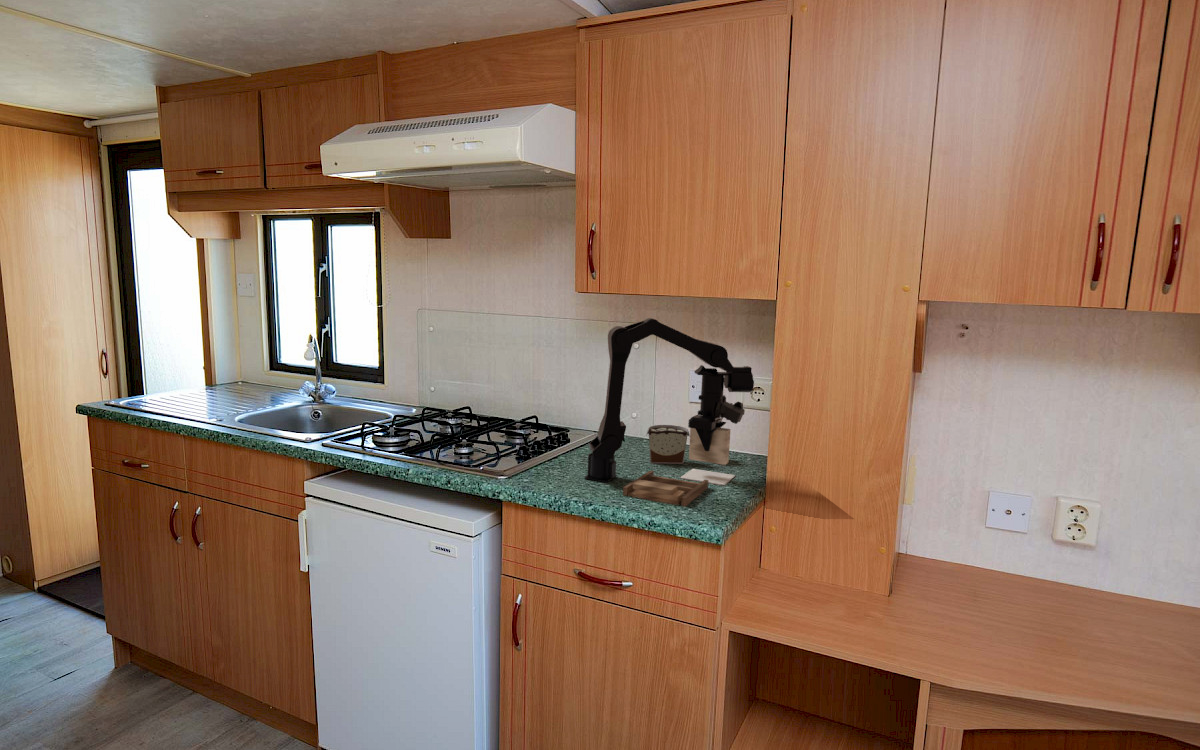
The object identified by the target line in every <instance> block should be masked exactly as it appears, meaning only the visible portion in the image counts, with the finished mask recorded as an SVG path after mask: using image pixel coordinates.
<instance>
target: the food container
mask: <svg viewBox="0 0 1200 750" xmlns="http://www.w3.org/2000/svg"><path fill="white" fill-rule="evenodd" d="M646 436H648V443H649V444H648V445H649V458H650V459H649V460H650V464H674V465H675V464H679V465H680V464H681V465H683V464H684V462H685V461H684V460H685V454H686V447H687V441H688V437H689V438H690V431H689V428H686V427H683V426H681V425H672V424H656V425H655V424H654V425H651V426H649V427H648V429H647V432H646Z"/></svg>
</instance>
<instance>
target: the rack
mask: <svg viewBox="0 0 1200 750" xmlns="http://www.w3.org/2000/svg"><path fill="white" fill-rule="evenodd" d="M654 473H655V471H653V470H649V471H647V472H646V473H644V474H643V475H641V476H639V477H638V478H636V479H634V480H633V481H631V482H629V483H628V484H626V485H624V486H623V487H622V496H625V495H626V497H628V493H629V492H630V491H632V490H633V483H635V482H636V481H638V480H645V481H651V482H657V483H663V484H669V485H675V486H678V488H677V490H679V491H684V496H683V497H682V500H681V504H680V506H681V507H687V506H688V505H689V504H690V503H691V502H693V501H694V500H695V499H696V498H697V497H699V496H700V495H701V494H702V493H703V492H705V491H706V490H707V489H708V488H709V483H708V480H704V481H702V482H696V481H690V480H684V479H675V478H670V477H664V476H658V475H654Z"/></svg>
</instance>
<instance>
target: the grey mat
mask: <svg viewBox="0 0 1200 750" xmlns="http://www.w3.org/2000/svg"><path fill="white" fill-rule="evenodd" d="M735 477H736V475H734V474H730V473H729V474H728V473H723V472H716V471H711V470H704V469H698V468H692V469H690V470H688V471H687V472H686V473H685V474H682V476H680V478H679V480H685V481H691V482H697V483H701V482H702V481H704V480H708V484H712V485H719V486H723V487H724V486H725V485H727V484H728V483H729V482H730V481H732V480H733V479H734V478H735Z"/></svg>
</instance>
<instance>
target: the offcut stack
mask: <svg viewBox="0 0 1200 750" xmlns="http://www.w3.org/2000/svg"><path fill="white" fill-rule="evenodd" d="M677 488H678V486H675V485H669V484H663V483H657V482H651V480H650V481H645V480H638V481H636V482H635V483H633V490H632V491H630V492H629V493H628V495H627V497H629V496H632V497H631V498H635V497H638V498H637V499H640V498H642V499H641V500H646V499H648V500H647V501H653V502H659V503H664V504H670V505H674V506H681V500H682V497H683V496H684V495H685V494H684V491H679V490H677Z"/></svg>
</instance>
